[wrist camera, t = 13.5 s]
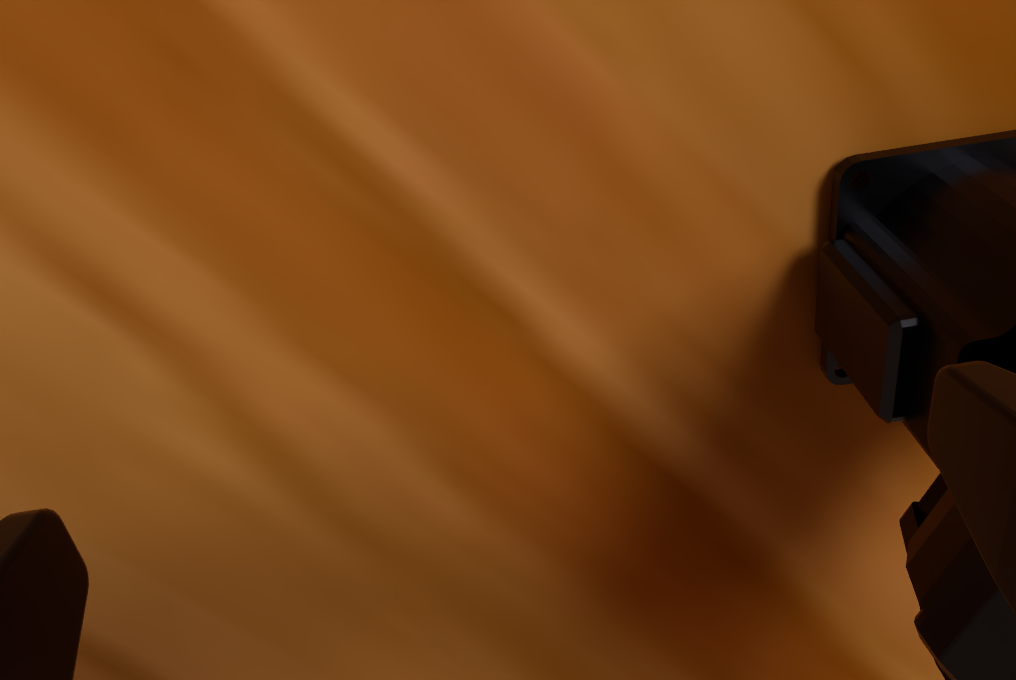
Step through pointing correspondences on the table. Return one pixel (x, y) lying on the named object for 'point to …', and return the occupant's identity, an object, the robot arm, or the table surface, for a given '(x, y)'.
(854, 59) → the table surface
